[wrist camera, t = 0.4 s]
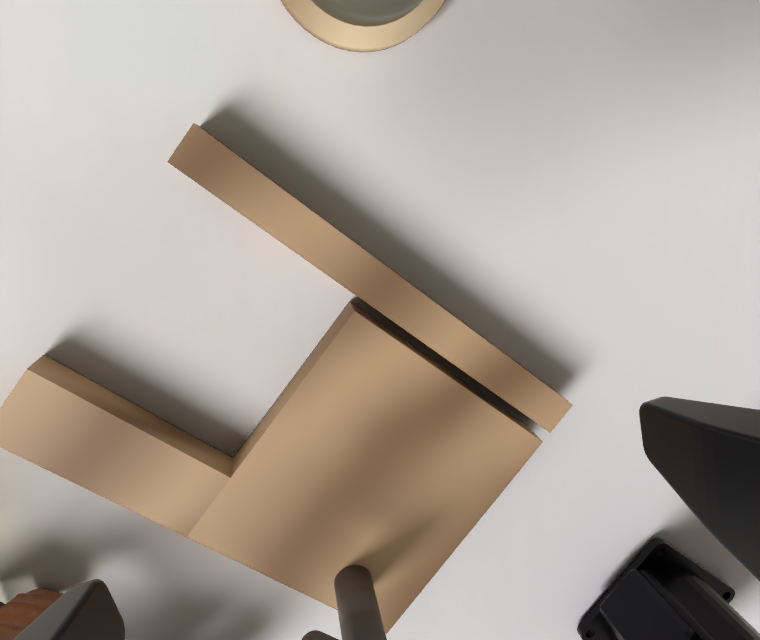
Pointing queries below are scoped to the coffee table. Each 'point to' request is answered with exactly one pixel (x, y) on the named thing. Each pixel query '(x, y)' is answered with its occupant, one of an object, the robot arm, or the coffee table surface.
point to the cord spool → (362, 21)
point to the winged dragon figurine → (24, 611)
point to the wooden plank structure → (311, 432)
